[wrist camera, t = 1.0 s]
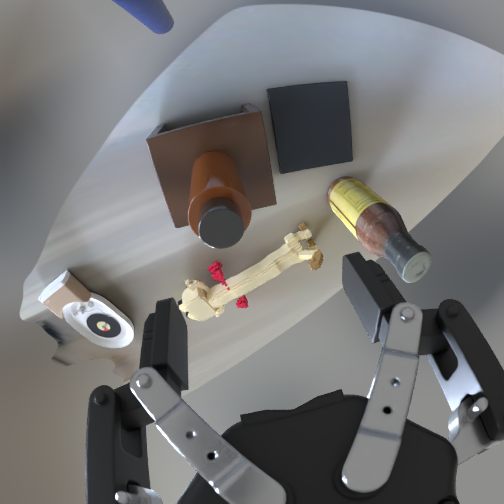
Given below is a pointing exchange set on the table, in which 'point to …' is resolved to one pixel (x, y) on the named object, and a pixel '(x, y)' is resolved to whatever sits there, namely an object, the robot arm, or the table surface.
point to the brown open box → (205, 140)
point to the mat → (311, 125)
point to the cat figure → (246, 278)
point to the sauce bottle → (378, 227)
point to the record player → (88, 312)
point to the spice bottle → (217, 201)
